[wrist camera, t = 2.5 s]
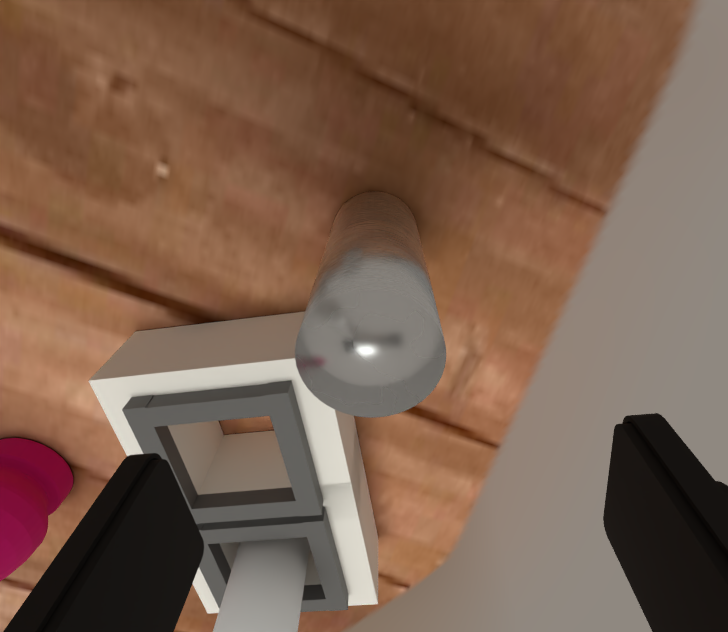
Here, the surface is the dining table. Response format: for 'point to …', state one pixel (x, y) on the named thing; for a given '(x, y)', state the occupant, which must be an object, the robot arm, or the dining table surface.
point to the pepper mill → (28, 497)
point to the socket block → (250, 467)
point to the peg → (371, 314)
